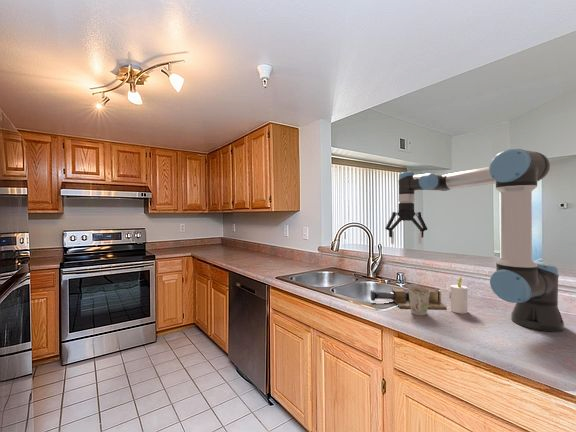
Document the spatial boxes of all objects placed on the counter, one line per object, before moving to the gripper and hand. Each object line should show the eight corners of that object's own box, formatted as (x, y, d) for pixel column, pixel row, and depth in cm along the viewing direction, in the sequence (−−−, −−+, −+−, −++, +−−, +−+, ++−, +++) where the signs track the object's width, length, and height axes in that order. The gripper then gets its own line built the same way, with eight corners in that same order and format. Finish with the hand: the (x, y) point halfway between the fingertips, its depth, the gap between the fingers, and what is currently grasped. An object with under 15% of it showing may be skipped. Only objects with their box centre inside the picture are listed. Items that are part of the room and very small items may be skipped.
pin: (418, 302, 134) (418, 292, 134) (372, 301, 135) (372, 291, 135) (414, 299, 139) (414, 289, 139) (370, 298, 140) (370, 289, 140)
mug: (428, 310, 124) (428, 287, 124) (432, 321, 112) (432, 295, 112) (407, 308, 126) (407, 286, 126) (409, 318, 115) (409, 293, 114)
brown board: (449, 309, 126) (449, 296, 126) (399, 308, 127) (399, 296, 127) (429, 295, 146) (429, 285, 145) (387, 295, 147) (387, 284, 147)
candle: (450, 307, 128) (450, 273, 128) (467, 310, 124) (468, 275, 124) (448, 311, 123) (449, 276, 123) (466, 314, 119) (466, 278, 119)
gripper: (429, 202, 150) (428, 243, 150) (379, 202, 153) (379, 242, 153) (434, 202, 142) (434, 244, 143) (382, 202, 145) (382, 244, 146)
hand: (405, 243), depth 148 cm, fingers open, 13 cm apart
